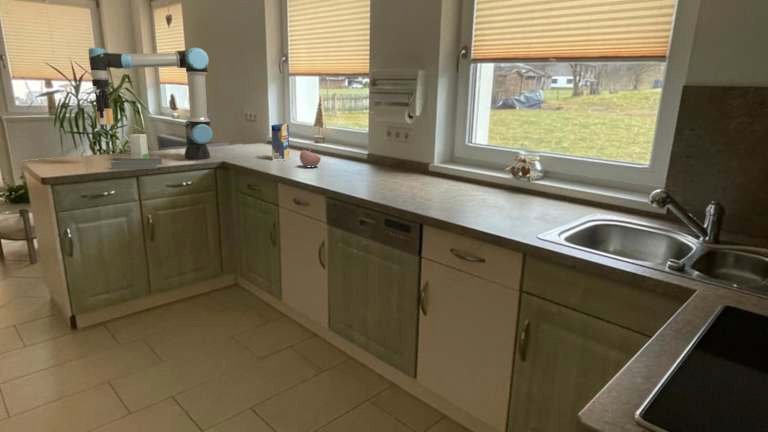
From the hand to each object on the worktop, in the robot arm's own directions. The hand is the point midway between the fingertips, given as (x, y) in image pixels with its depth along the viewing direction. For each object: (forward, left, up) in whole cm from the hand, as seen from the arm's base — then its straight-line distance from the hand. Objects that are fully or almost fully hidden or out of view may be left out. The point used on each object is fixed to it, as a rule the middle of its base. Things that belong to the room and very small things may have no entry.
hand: (105, 123), depth 259 cm
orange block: (0, 0, 0) cm, 0 cm away
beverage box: (-93, -19, -23) cm, 98 cm away
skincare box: (-12, -15, -23) cm, 30 cm away
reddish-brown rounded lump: (-109, +10, -23) cm, 112 cm away
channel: (-15, +4, -23) cm, 28 cm away
